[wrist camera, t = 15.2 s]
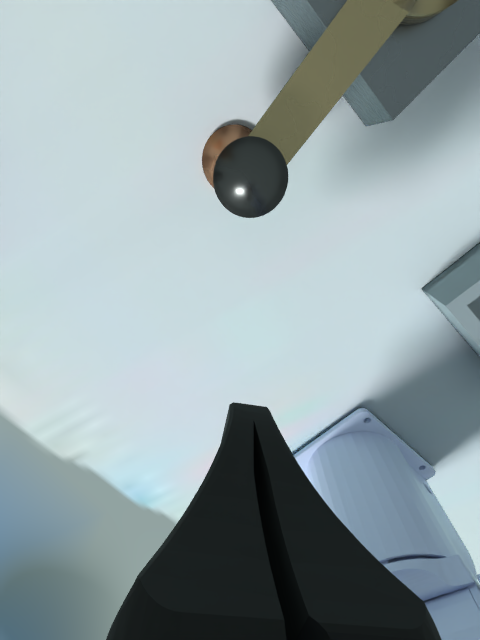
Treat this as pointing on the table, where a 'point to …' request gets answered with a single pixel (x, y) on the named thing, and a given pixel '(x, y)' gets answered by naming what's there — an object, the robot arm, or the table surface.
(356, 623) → the robot arm
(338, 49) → the crank
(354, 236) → the table surface
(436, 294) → the tray
